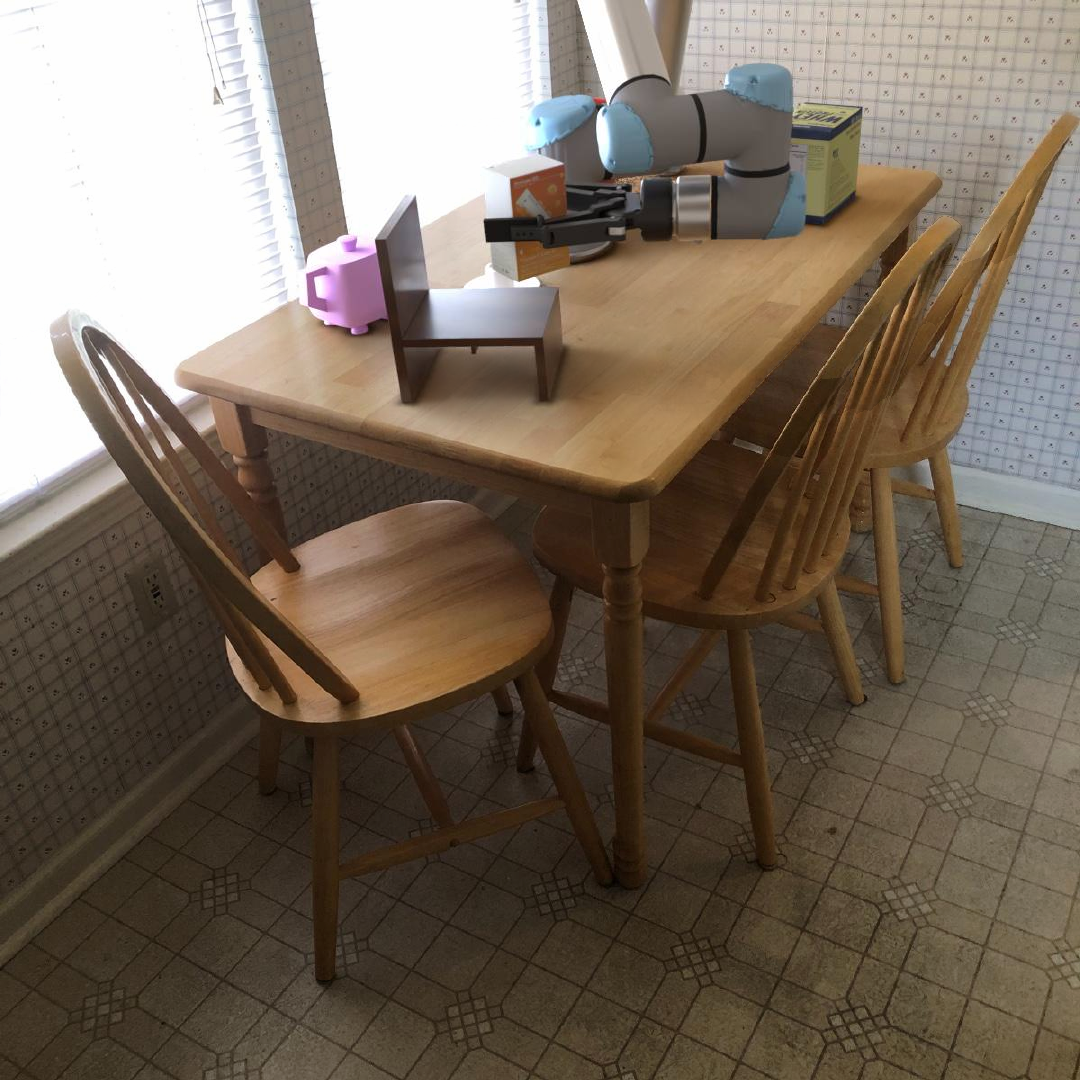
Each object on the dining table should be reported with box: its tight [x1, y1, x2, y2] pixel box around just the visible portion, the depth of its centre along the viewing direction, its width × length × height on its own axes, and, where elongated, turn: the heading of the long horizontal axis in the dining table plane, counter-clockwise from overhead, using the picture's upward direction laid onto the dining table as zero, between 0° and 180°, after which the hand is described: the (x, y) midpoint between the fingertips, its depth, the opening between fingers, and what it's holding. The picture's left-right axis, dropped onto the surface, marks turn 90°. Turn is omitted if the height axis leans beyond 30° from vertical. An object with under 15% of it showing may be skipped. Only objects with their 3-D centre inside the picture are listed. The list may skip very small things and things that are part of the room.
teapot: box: [297, 234, 388, 335], centre depth 166 cm, size 20×12×13 cm, turn 139°
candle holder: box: [463, 262, 541, 289], centre depth 173 cm, size 12×12×4 cm
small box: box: [482, 153, 571, 282], centre depth 138 cm, size 8×6×13 cm
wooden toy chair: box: [374, 194, 564, 403], centre depth 145 cm, size 16×19×22 cm
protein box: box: [789, 101, 864, 226], centre depth 189 cm, size 10×16×16 cm
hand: (492, 215), depth 138 cm, fingers closed on small box, 10 cm apart
